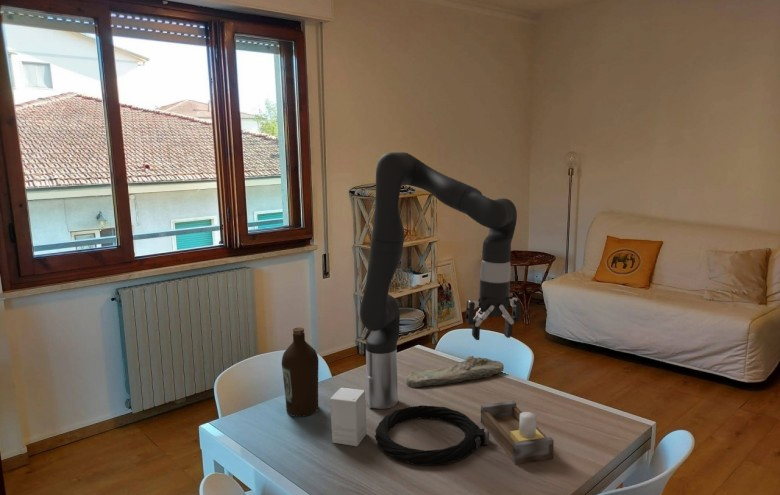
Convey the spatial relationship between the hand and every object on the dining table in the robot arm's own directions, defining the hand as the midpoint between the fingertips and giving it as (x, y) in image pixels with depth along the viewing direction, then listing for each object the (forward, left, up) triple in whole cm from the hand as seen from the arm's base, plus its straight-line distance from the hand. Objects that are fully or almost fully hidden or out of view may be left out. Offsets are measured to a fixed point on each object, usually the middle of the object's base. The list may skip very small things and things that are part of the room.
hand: (491, 338), depth 146 cm
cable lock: (-16, +2, -28) cm, 32 cm away
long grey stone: (+4, +37, -28) cm, 47 cm away
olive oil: (-48, +28, -27) cm, 62 cm away
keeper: (+5, -11, -25) cm, 28 cm away
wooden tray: (+5, -4, -27) cm, 28 cm away
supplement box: (-37, +8, -27) cm, 47 cm away
